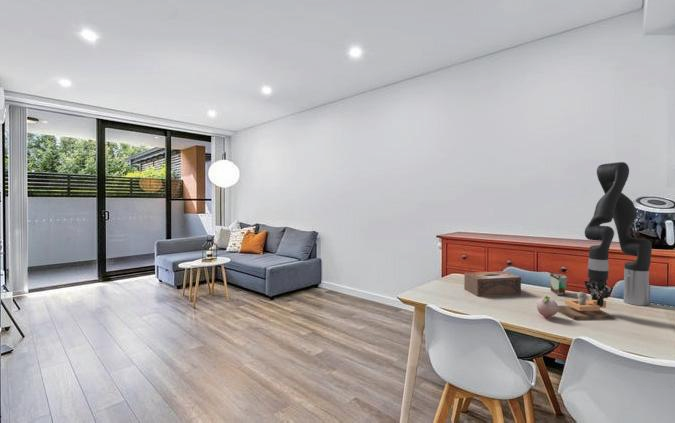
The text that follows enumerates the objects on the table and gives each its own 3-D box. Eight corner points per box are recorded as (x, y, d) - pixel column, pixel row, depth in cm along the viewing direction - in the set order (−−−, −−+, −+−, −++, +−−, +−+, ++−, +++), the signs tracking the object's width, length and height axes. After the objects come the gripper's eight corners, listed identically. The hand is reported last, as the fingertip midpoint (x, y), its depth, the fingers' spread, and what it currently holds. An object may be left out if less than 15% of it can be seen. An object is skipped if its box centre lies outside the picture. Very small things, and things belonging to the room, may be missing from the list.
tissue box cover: (477, 297, 180) (477, 279, 180) (464, 289, 195) (464, 273, 194) (520, 294, 183) (521, 277, 183) (504, 287, 198) (504, 271, 197)
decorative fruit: (558, 322, 142) (558, 300, 142) (536, 319, 146) (536, 297, 146) (557, 316, 150) (558, 294, 150) (536, 312, 154) (537, 292, 154)
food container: (572, 297, 177) (572, 278, 177) (559, 296, 178) (559, 278, 178) (561, 290, 189) (561, 273, 189) (549, 290, 190) (549, 273, 190)
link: (595, 303, 157) (596, 297, 157) (612, 310, 148) (612, 303, 148) (565, 304, 157) (565, 298, 157) (579, 310, 148) (579, 304, 148)
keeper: (588, 308, 160) (589, 287, 159) (613, 318, 146) (614, 296, 145) (552, 308, 159) (552, 288, 159) (573, 319, 145) (574, 296, 145)
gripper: (619, 271, 145) (618, 310, 146) (594, 265, 159) (593, 300, 160) (602, 272, 145) (601, 310, 146) (578, 265, 159) (578, 300, 159)
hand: (597, 305), depth 153 cm, fingers closed on link, 2 cm apart
